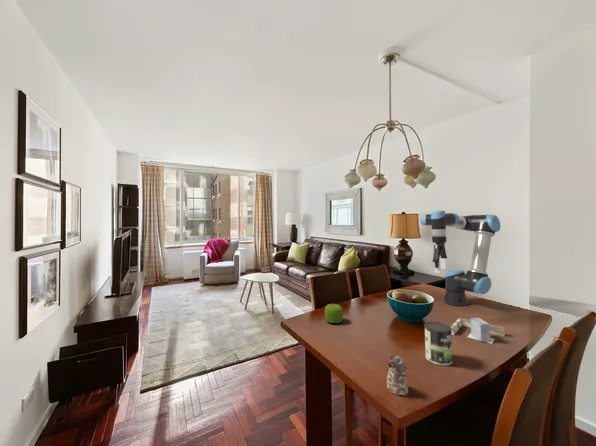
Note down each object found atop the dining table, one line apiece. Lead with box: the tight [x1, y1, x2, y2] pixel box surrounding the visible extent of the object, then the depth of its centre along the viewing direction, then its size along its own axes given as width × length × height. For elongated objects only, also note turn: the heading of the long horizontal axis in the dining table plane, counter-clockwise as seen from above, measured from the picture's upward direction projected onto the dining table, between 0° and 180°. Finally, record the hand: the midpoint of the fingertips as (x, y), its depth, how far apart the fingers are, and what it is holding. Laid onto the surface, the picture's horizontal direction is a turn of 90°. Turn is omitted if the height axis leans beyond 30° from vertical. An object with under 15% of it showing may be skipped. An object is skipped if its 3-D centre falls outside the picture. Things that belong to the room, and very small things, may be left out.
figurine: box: [386, 353, 409, 396], centre depth 89 cm, size 7×7×12 cm
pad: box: [467, 332, 495, 345], centre depth 124 cm, size 6×10×1 cm, turn 43°
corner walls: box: [450, 317, 506, 337], centre depth 128 cm, size 17×20×4 cm
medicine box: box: [470, 317, 491, 342], centre depth 124 cm, size 8×4×9 cm, turn 176°
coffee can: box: [424, 321, 453, 366], centre depth 107 cm, size 10×10×14 cm
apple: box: [324, 303, 344, 324], centre depth 150 cm, size 11×11×11 cm
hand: (440, 270), depth 150 cm, fingers open, 13 cm apart
